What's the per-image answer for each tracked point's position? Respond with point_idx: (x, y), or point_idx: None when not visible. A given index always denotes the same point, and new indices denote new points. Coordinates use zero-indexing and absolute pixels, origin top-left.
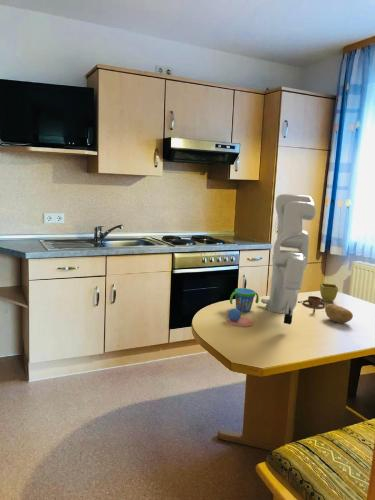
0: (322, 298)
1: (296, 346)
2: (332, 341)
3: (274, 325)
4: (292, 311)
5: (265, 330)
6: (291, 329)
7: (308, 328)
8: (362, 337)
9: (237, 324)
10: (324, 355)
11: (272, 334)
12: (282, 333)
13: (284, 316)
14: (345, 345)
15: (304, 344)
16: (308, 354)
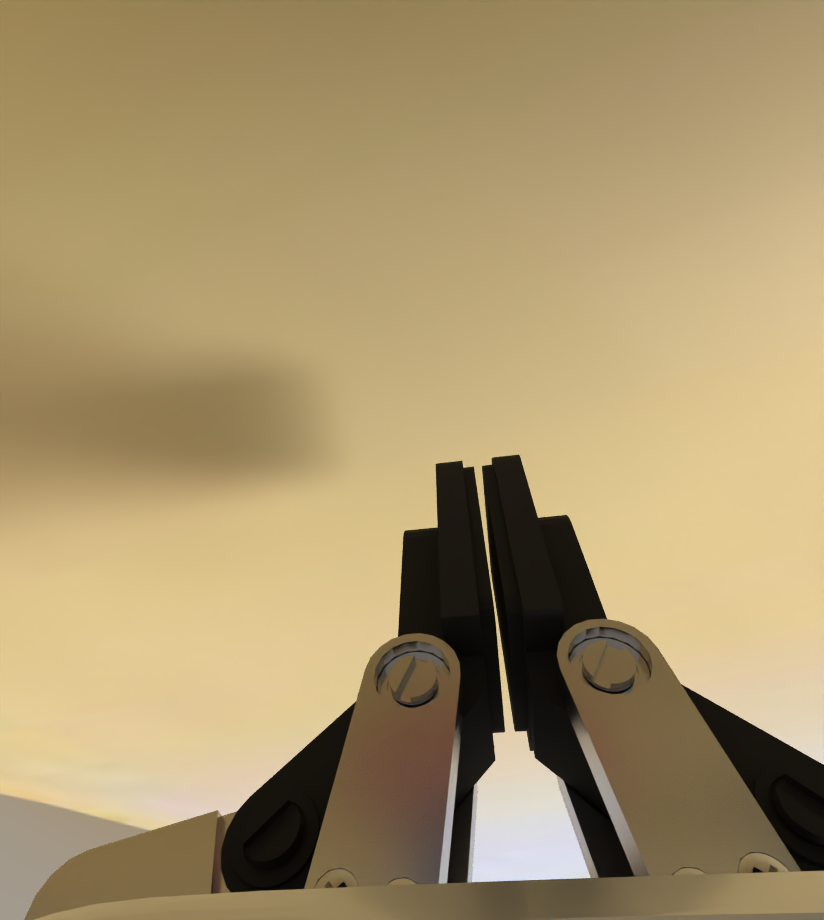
0: None
1: (79, 657)
2: (515, 804)
3: (648, 122)
4: (603, 860)
5: (195, 77)
6: (613, 455)
7: (791, 599)
8: None
9: None
10: (143, 823)
11: (136, 297)
12: (331, 410)
13: (441, 571)
14: (495, 860)
15: (216, 690)
16: (22, 760)
